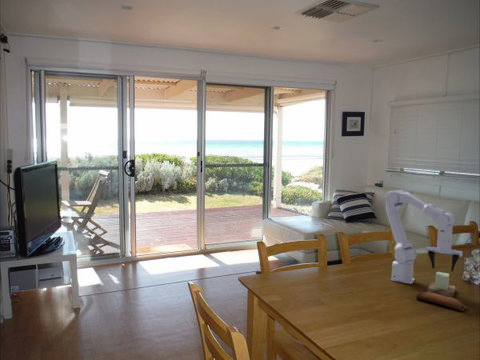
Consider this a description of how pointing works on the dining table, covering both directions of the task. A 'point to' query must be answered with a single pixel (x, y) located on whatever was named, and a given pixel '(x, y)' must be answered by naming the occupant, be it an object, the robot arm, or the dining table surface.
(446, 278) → the green block
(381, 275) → the dining table surface
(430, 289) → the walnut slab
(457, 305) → the sunglasses case
